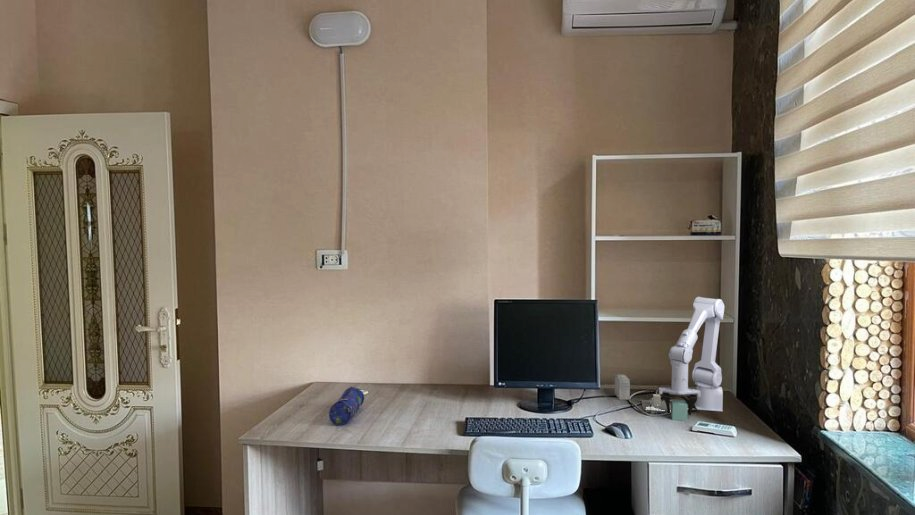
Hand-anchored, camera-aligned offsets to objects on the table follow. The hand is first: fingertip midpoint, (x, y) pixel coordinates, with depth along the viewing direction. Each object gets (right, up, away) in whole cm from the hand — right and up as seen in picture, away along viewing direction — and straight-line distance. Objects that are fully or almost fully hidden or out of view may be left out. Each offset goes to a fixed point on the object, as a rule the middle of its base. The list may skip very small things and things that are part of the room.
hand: (678, 413), depth 212 cm
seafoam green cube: (0, -2, 0) cm, 2 cm away
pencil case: (-126, -3, +4) cm, 126 cm away
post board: (-4, -1, +12) cm, 13 cm away
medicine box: (-14, 0, +25) cm, 29 cm away
